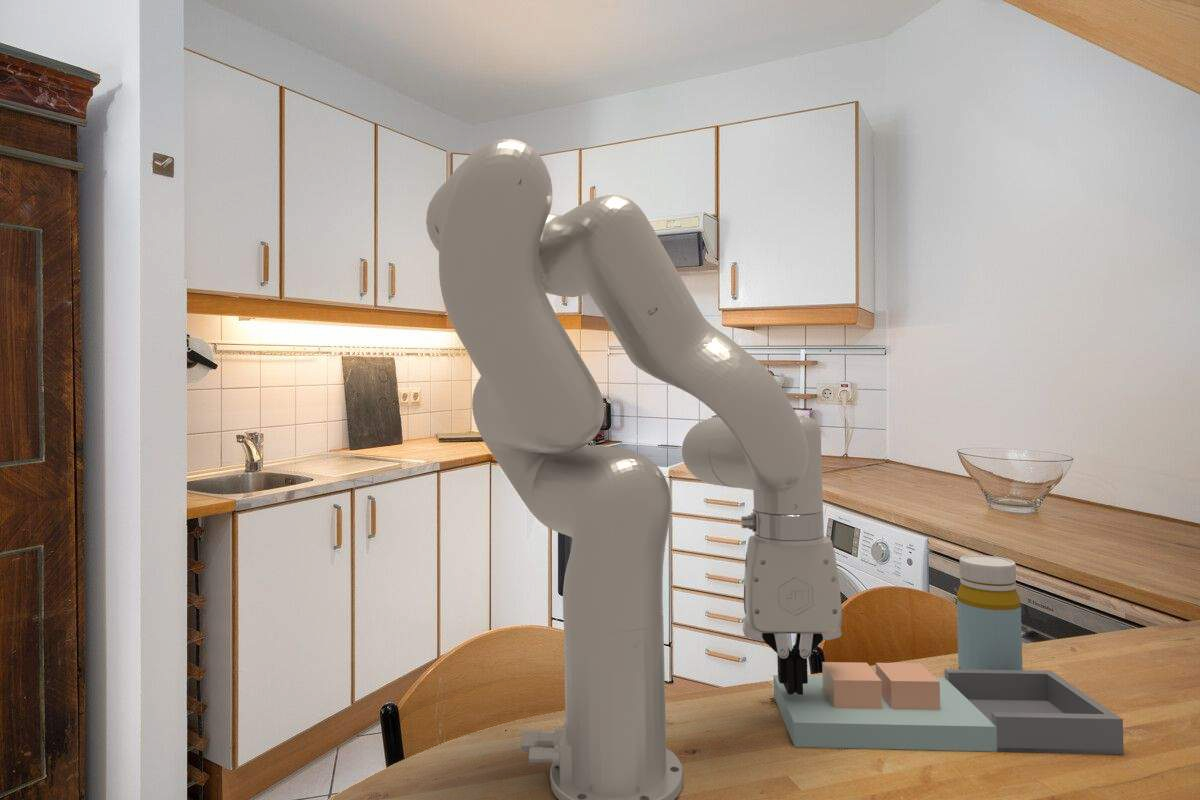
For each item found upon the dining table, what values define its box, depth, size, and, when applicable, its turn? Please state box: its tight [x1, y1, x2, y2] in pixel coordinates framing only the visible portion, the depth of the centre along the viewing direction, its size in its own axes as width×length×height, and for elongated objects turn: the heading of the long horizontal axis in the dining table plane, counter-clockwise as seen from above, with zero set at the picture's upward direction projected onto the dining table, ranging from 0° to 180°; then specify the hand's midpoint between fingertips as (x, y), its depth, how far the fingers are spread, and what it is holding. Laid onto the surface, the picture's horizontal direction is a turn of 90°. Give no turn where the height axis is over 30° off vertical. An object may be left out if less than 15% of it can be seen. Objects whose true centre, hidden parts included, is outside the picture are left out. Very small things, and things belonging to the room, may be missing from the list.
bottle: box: [956, 554, 1024, 670], centre depth 84 cm, size 7×7×15 cm
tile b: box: [875, 662, 940, 710], centre depth 73 cm, size 5×5×3 cm
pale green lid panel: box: [772, 674, 997, 752], centre depth 73 cm, size 20×12×2 cm, turn 85°
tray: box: [943, 668, 1125, 755], centre depth 72 cm, size 12×12×4 cm
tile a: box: [821, 661, 882, 709], centre depth 74 cm, size 5×5×3 cm
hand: (792, 689), depth 74 cm, fingers closed
